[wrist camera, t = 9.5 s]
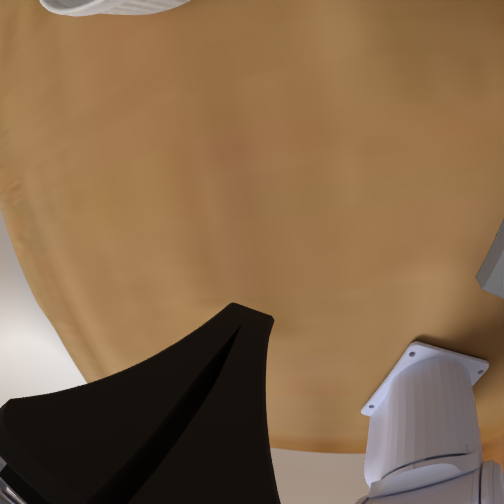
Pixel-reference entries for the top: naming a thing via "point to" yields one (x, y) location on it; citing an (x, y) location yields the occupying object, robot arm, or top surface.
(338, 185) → the top surface
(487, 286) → the housing
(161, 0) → the ramekin
